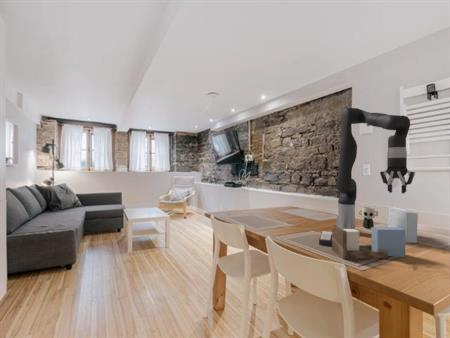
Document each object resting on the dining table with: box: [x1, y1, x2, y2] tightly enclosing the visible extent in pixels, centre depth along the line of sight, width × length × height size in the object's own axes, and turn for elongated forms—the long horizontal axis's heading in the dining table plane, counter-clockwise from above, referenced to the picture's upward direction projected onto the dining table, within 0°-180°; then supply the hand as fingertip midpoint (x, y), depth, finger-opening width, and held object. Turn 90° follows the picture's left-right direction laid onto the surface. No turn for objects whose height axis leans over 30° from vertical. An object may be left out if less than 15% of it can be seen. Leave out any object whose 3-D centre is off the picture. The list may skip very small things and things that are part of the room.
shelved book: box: [344, 228, 360, 251], centre depth 108 cm, size 7×4×11 cm, turn 88°
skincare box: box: [387, 206, 419, 244], centre depth 134 cm, size 21×6×16 cm, turn 168°
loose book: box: [371, 226, 406, 258], centre depth 107 cm, size 12×4×12 cm, turn 88°
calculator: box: [318, 230, 332, 247], centre depth 126 cm, size 11×4×15 cm
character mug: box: [358, 206, 379, 229], centre depth 157 cm, size 11×7×13 cm, turn 61°
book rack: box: [331, 224, 389, 260], centre depth 107 cm, size 20×11×12 cm, turn 88°
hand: (396, 192), depth 114 cm, fingers open, 4 cm apart
